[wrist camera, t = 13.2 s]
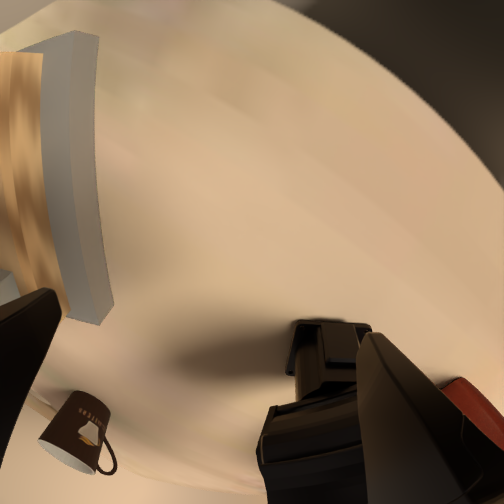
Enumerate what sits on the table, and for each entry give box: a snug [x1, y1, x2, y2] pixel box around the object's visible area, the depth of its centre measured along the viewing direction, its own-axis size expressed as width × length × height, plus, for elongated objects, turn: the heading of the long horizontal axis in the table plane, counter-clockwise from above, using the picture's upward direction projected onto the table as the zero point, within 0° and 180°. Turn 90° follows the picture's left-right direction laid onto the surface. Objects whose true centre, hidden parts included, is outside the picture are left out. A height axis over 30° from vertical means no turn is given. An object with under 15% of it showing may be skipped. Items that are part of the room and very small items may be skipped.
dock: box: [17, 31, 114, 326], centre depth 18 cm, size 22×12×3 cm, turn 176°
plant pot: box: [441, 378, 504, 451], centre depth 23 cm, size 19×19×17 cm
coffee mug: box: [38, 391, 117, 475], centre depth 31 cm, size 12×9×10 cm
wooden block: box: [0, 52, 71, 324], centre depth 15 cm, size 20×6×4 cm, turn 176°
